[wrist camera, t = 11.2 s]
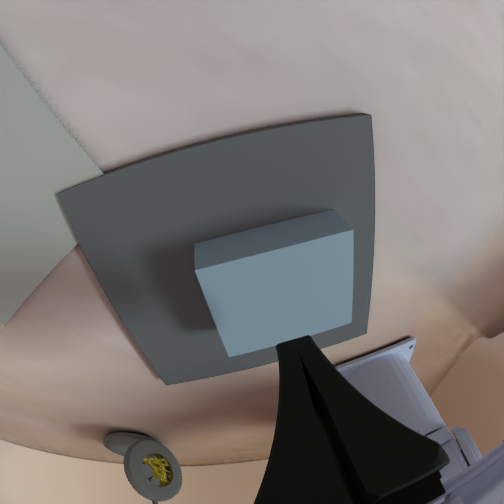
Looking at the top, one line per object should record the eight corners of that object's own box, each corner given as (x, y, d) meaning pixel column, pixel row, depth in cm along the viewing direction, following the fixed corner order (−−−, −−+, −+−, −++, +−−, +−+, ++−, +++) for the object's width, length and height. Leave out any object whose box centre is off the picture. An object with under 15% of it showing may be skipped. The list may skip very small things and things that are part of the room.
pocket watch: (105, 445, 26) (103, 521, 18) (102, 416, 23) (96, 512, 14) (173, 455, 29) (179, 529, 20) (185, 429, 25) (194, 522, 17)
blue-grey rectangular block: (224, 328, 18) (337, 298, 18) (228, 357, 16) (351, 322, 16) (194, 243, 14) (334, 209, 15) (194, 270, 12) (353, 229, 13)
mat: (363, 327, 21) (366, 333, 20) (166, 378, 20) (166, 385, 20) (365, 113, 13) (371, 114, 12) (61, 189, 12) (56, 194, 12)
